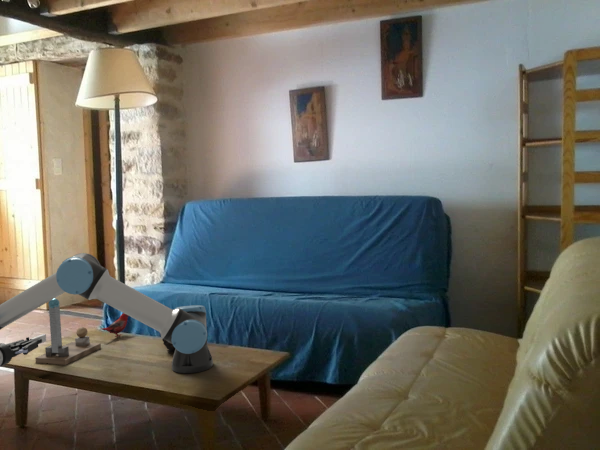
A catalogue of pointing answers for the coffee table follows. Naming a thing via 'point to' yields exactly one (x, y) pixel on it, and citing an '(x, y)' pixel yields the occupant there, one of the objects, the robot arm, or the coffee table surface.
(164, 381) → the coffee table surface
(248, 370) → the coffee table surface
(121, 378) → the coffee table surface
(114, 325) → the decorative bird figurine
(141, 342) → the coffee table surface
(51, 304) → the lever
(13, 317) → the robot arm
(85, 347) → the nutcracker base
